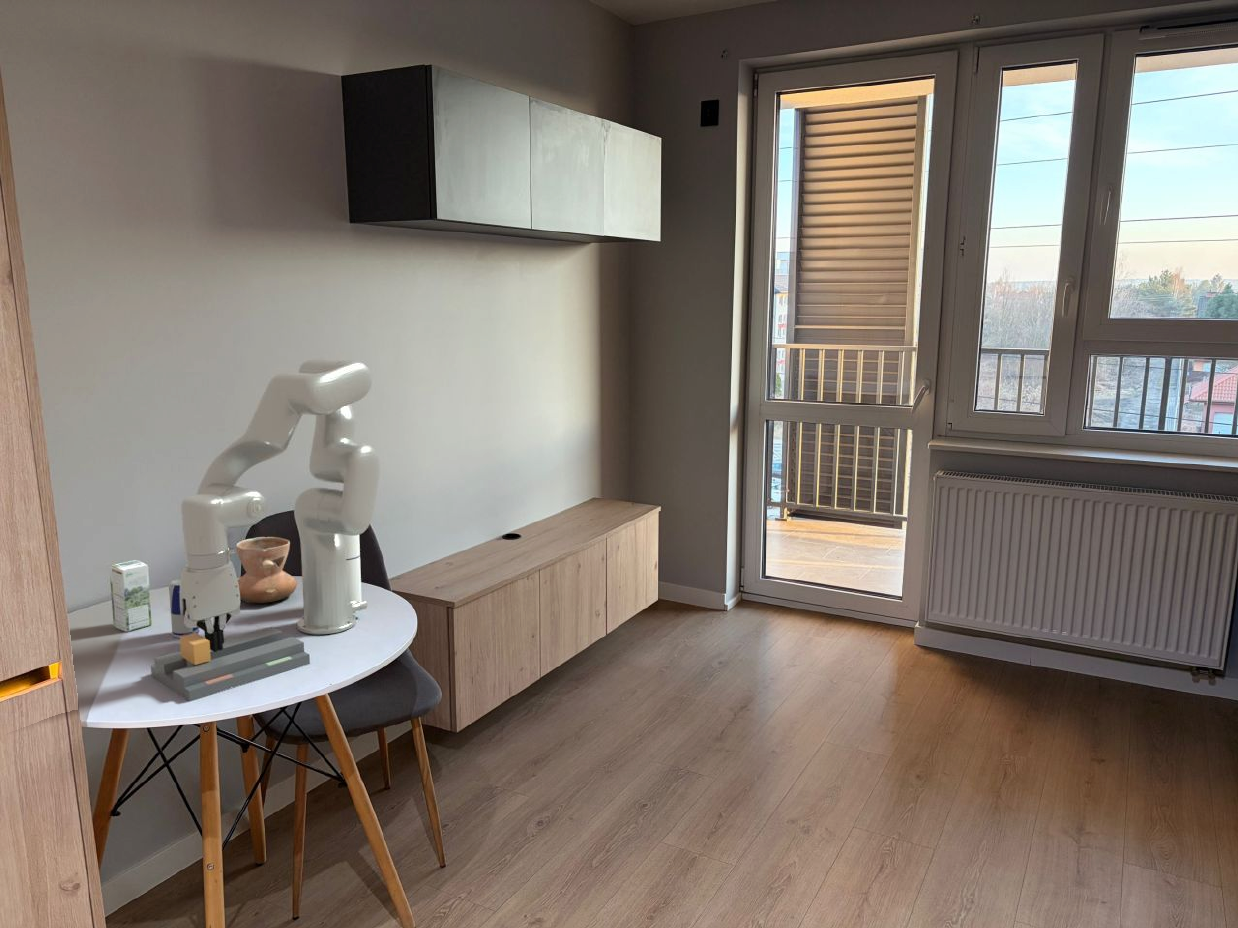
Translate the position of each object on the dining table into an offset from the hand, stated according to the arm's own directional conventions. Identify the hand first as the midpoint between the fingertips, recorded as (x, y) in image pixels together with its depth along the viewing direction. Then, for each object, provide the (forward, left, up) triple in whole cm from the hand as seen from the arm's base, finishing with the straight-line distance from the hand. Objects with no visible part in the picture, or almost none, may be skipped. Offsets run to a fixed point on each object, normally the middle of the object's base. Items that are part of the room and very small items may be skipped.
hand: (215, 648), depth 176 cm
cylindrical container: (-39, -17, -5) cm, 43 cm away
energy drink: (-5, -26, -5) cm, 27 cm away
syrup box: (+1, -39, -5) cm, 39 cm away
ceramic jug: (-29, -37, -5) cm, 47 cm away
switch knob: (+4, 0, -3) cm, 5 cm away
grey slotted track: (-3, 0, -5) cm, 6 cm away
